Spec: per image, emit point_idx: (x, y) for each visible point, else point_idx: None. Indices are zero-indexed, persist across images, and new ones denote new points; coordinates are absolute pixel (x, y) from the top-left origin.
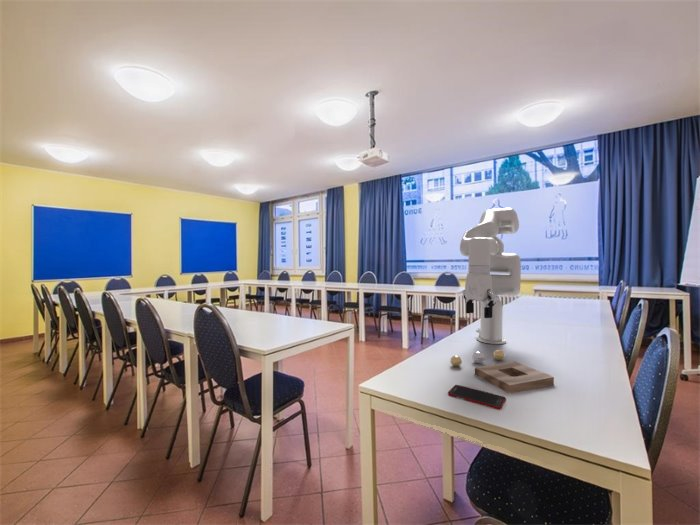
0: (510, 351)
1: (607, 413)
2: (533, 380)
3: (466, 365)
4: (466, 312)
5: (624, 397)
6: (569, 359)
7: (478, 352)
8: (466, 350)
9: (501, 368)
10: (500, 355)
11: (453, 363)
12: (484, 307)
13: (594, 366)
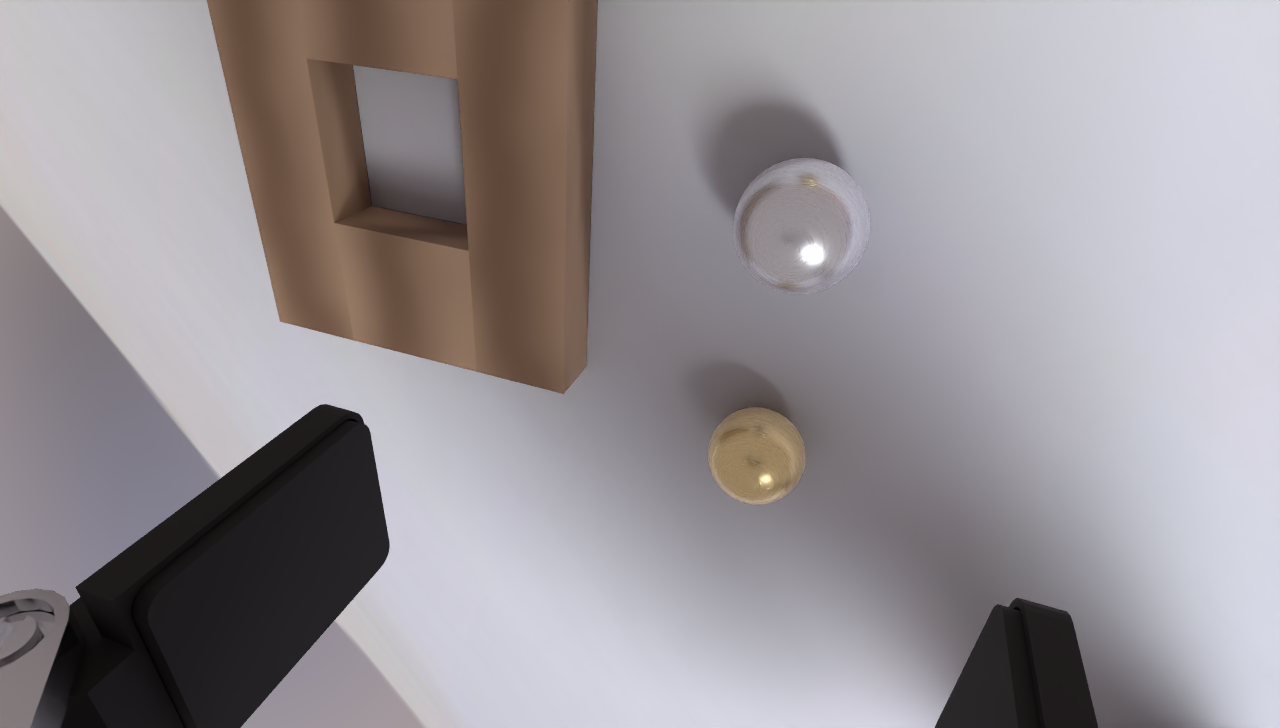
0: (853, 662)
1: (47, 186)
2: (244, 147)
3: (830, 36)
4: (1047, 613)
5: (181, 417)
6: (573, 717)
7: (774, 233)
8: (1166, 440)
9: (472, 146)
10: (715, 433)
11: None
12: (117, 590)
13: (465, 686)
